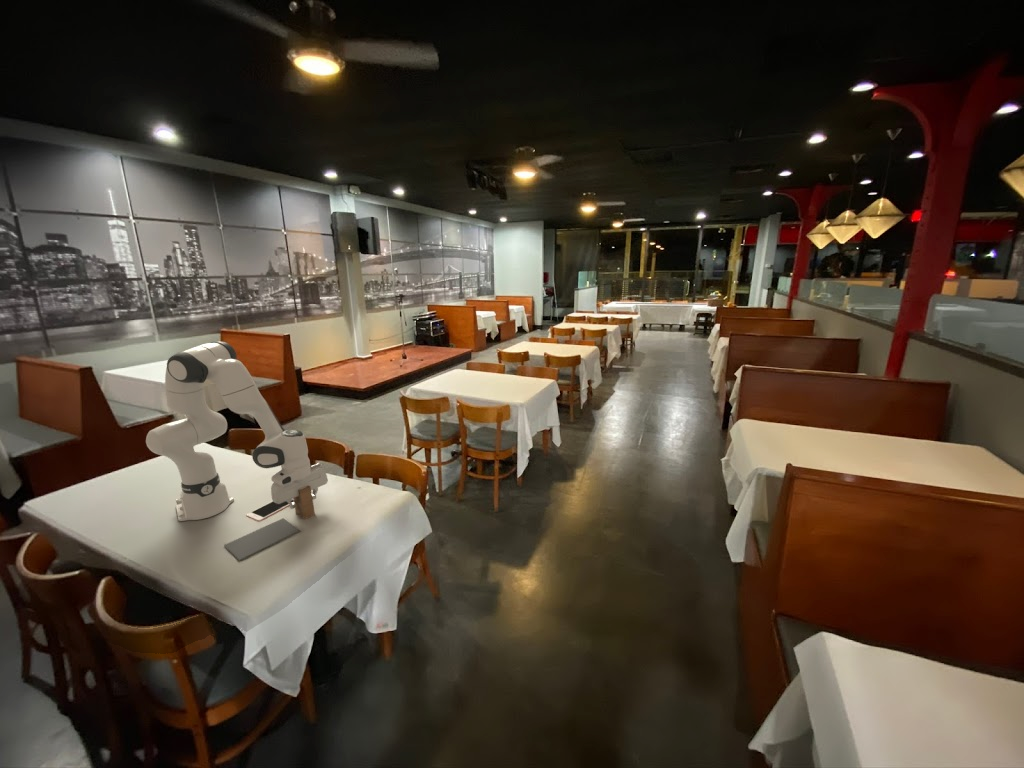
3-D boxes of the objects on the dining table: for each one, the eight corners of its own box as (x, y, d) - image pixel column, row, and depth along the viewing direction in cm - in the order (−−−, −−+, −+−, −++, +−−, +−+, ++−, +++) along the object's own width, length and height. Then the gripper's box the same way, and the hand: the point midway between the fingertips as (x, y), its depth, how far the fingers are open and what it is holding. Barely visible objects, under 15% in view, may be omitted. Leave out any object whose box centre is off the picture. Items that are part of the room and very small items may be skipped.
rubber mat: (224, 546, 143) (224, 545, 143) (283, 519, 158) (283, 518, 158) (239, 561, 136) (239, 559, 135) (300, 531, 151) (300, 530, 151)
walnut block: (295, 513, 163) (291, 485, 159) (305, 508, 166) (301, 481, 163) (304, 519, 159) (300, 490, 155) (314, 514, 162) (310, 486, 158)
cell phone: (301, 499, 173) (301, 497, 173) (259, 522, 157) (259, 520, 157) (288, 495, 177) (287, 493, 177) (245, 516, 161) (245, 514, 161)
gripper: (319, 459, 167) (324, 489, 171) (266, 479, 151) (272, 512, 155) (328, 463, 163) (332, 494, 167) (274, 483, 148) (280, 517, 151)
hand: (303, 503), depth 161 cm, fingers open, 7 cm apart
